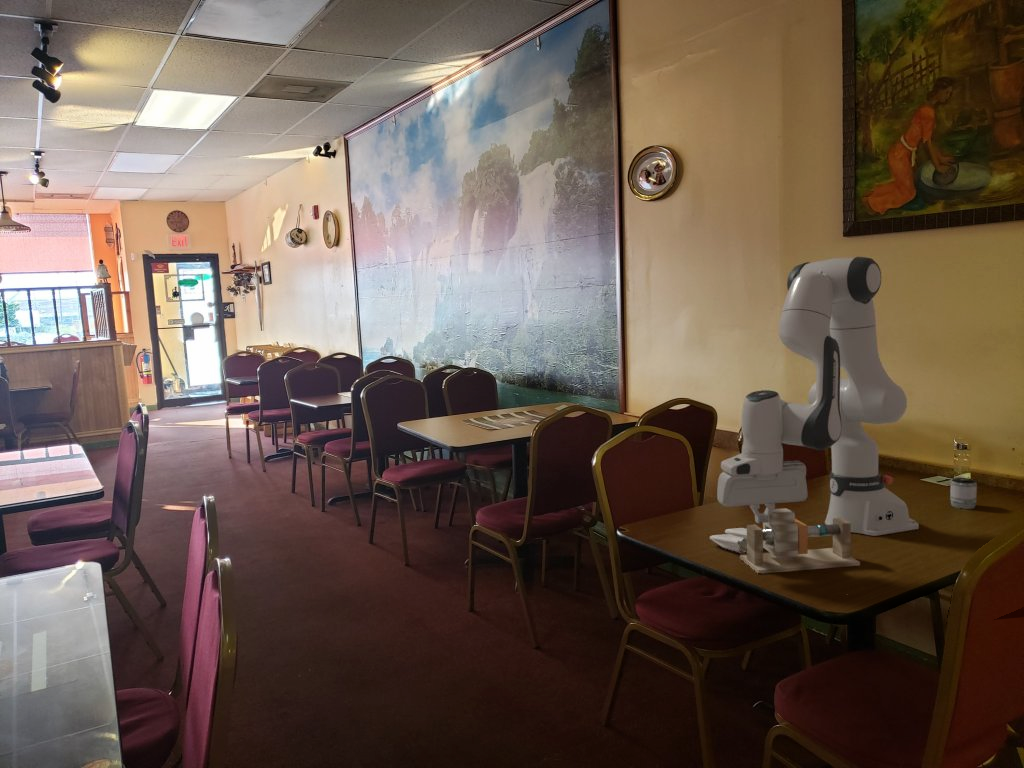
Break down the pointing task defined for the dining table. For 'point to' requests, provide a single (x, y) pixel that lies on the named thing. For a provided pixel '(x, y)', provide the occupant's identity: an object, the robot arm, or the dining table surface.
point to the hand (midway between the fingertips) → (762, 522)
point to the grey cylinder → (963, 493)
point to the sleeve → (782, 533)
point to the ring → (802, 537)
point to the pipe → (809, 531)
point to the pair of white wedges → (732, 539)
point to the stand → (812, 560)
